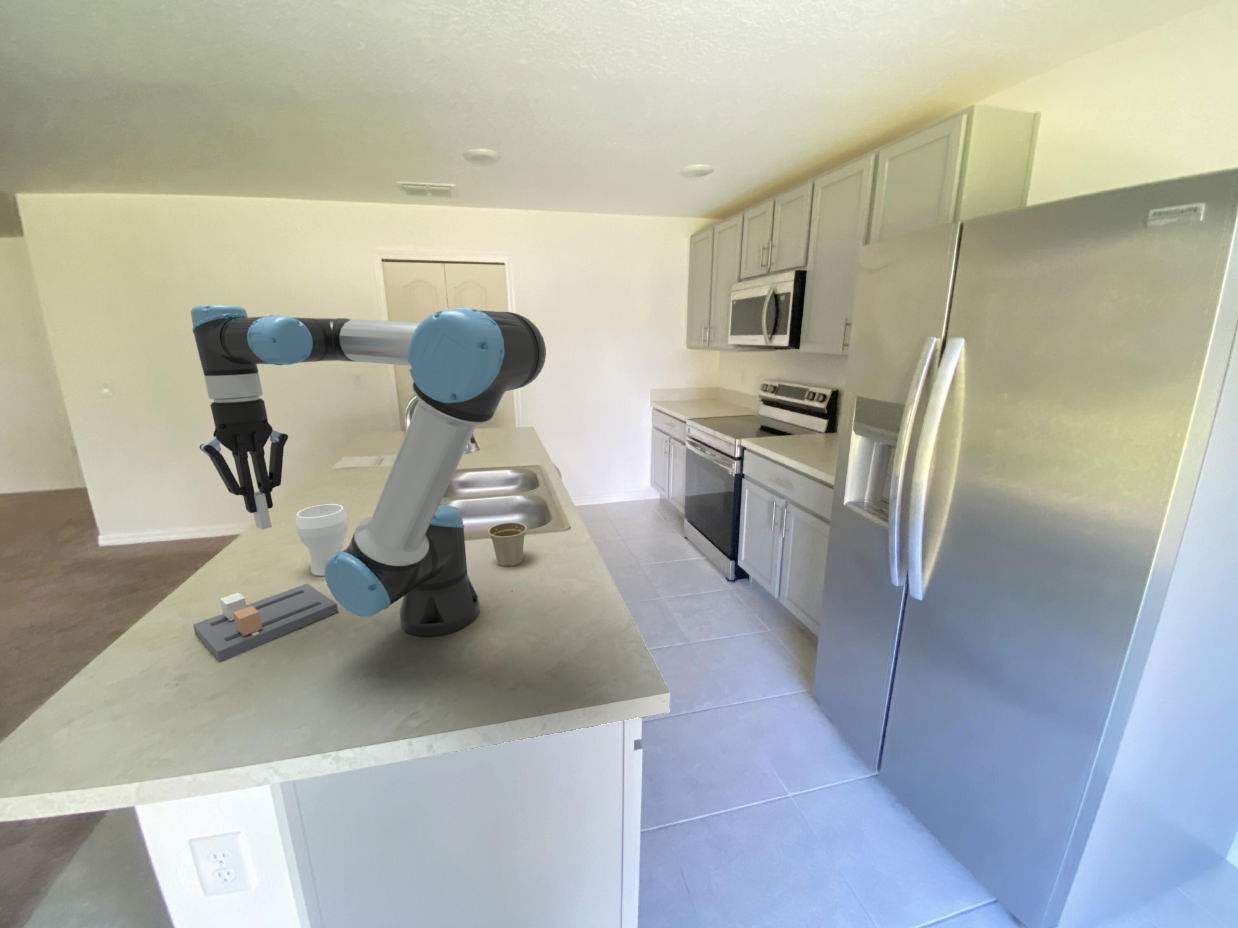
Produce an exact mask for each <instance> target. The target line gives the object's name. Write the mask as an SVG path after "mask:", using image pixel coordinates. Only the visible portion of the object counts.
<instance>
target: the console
mask: <svg viewBox="0 0 1238 928" xmlns="http://www.w3.org/2000/svg"><path fill="white" fill-rule="evenodd" d="M246 606H247V607H250V606H253V607H254V608H255V609H256V610H258V611H259V613H260V618H261V623H262V628H263V629H261V630H258V631H256V632H253V633H251V634H248V635H245V636H243V635H242V634H241V633H240V632H239V631H238V630H237V629H236V624H235V620H231V621H229V620H228V619H227V618H226V617H225V616H224V615H223V613H221V614H218V615H216V616H212V617H211V618H208V619H205V620H202V621H199V622H196V623H194V624H192V626H193V631H194V634H195V635H196V636H197V638H199V640H200V641H201V642H202V644H203V645H204V646H205V647H206V648H207V649H208V650H209V652H211V654H212V655H213V657H215V658H216V659H217V661H218V662H219V663H221V662H222V661H225V660H227V659H229V658H232V657H235V656H237V655H239V654H242V653H244V652H246V651H248V650H251V649H253V648H256V647H259V646H261V645H263V644H265V643H268V642H270V641H273V640H275V639H277V638H280V637H283V636H284V635H287V634H290V633H292V632H295V631H297V630H298V629H301V628H303V627H306V626H308V625H311V624H313V623H315V622H318V621H320V620H323V619H326V618H328V617H331V616H333V615H334V614H337V613H339V609H338V602H336V601H334V600H332V599H331V598H329V597H328V596H326V594H324V593H322V592H321V591H319V590H318V589H316V588H314V586H311V585H310V584H309V583H305V584H302V585H300V586H296V587H294V588H290V589H289V590H286V591H283V592H280V593H277V594H274V595H271V596H269V597H265V598H263V599H260V600H258V601H255V602H252V603H249V604H246Z"/></svg>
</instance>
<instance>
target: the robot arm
mask: <svg viewBox="0 0 1238 928" xmlns="http://www.w3.org/2000/svg"><path fill="white" fill-rule="evenodd" d="M190 316H191V322H192V329H191V331H192V333H193V336H194V339H195V343H196V349H197V352H198V356H199V360H200V365H201V370H202V372H203V377H204V381H205V386H206V392H207V395H208V398H209V399H210V400H213V401H212V402H211V404H210V410H211V413H212V414H211V415H212V419H213V423H214V427H215V428H214V431H213V434H212V435H213V438H211V439H210V440H209V441H208V442H206V443H202V444H200V445H199V449H200V451H202V452H203V453H204V454H206V456H207V457H209V459H210V461H211V462H212V463H213V464H212V465H214V467H215V470H216V471H217V473H218V475H219V476H220V478H221V480H222V481H223V483H224V485H225V487H226V489H227V490H228V493H231V494H232V495H235V496H242V497H243V501H244V506H245V510H246V511H247V512H248V513H250V514H253V518H254V522H255V527H256V528H258V529H259V530H262V531H264V530H266V529H269V528H272V522H271V517H270V514H269V509H272V508H273V507H274V503H273V497H272V495H271V494H272V492H273V489H274V488H276V487H279V486H281V484H282V476H283V474H282V473H283V462H284V449H285V445H286V443H287V441H288V439H289V435H288V434H287V433H284V432H279V431H277V430H274V429H273V426H272V425H271V424H270V423H269V421H268V414H267V409H266V405H265V400H263V398H260V397H262V395H264V393H263V388H262V383H261V379H260V375H259V369H258V365H275V366H283V365H285V366H287V365H288V366H289V365H291V366H292V365H293V364H295V365H296V364H300V363H301V364H302V363H311V362H313V363H316V362H333V361H335V362H337V361H339V362H341V361H342V362H358V363H359V362H361V363H372V364H385V365H396V366H408V367H411V368H410V369H409V373H410V376H411V378H412V380H413V382H412V388H411V389H412V392H413V393H414V395H415V397H416V398H417V400H418V402H417V405H416V406H415V409H414V412H413V414H412V416H411V419H410V422H409V424H408V426H407V429H406V431H405V434H404V437H403V439H402V440H401V444H400V447H399V449H398V451H397V453H396V456H395V459H394V461H393V463H392V466H391V469H390V471H389V473H388V475H387V479H386V482H385V483H384V486H383V489H382V491H381V493H380V496H379V498H378V501H377V503H376V505H375V508H374V511H373V513H372V515H371V516H369V517H366V518H365V519H363V520H361V521H360V522H359V523H358V524H357V526H356V527H355V530H354V532H353V535H352V538H351V540H350V543H349V545H348V546H347V547H346V548H345V549H343V551H339V552H337V553H336V554H334V555H333V556H332V557H331V558H329V559H328V561H327V563H326V565H325V575H324V578H325V582H326V585H327V587H328V589H329V591H330V593H331V595H332V597H334V599H335V600H336V603H337V604H338V603H339V605H340V606H341V607H342V608H344V609H345V610H346V611H348V612H349V613H351V614H353V615H355V616H359V617H372V616H375V615H377V614H379V613H380V612H382V611H385V610H387V609H389V608H390V606H391V605H393V604H394V603H396V602H397V601H399V600H400V599H402V601H401V605H400V608H399V621H400V622H399V623H400V626H401V629H402V630H404V631H405V632H406V633H407V634H410V635H413V636H419V637H436V636H442V635H446V634H451V633H453V632H456V631H458V630H461V629H463V628H464V627H466V626H468V625H469V624H471V623H472V622H473V621H474V620H476V618H477V616H478V615H479V613H480V601H479V596H478V595H477V592H476V590H475V588H474V586H473V584H472V582H471V580H470V578H469V575H468V567H467V566H468V565H467V554H466V542H465V540H466V539H465V524H464V521H463V514H462V512H461V511H460V510H459V508H457V507H455V506H454V505H449V504H441V502H442V500H443V498H444V495H445V493H446V492H447V489H448V487H449V485H450V483H451V482H452V479H453V477H454V475H455V472H456V471H457V468H458V466H459V463H460V462H461V459H462V457H463V455H464V453H465V451H466V448H467V447H468V444H469V442H470V440H471V438H472V437H473V434H474V432H475V430H476V427H477V426H478V425H483V424H487V423H488V422H490V421H491V420H492V419H493V417H494V415H495V412H496V411H497V408H498V407H499V404H500V402H501V400H502V398H503V396H504V394H505V393H506V392H508V391H514V390H517V389H521V388H524V387H525V386H528V385H529V384H531V383H532V382H533V381H535V380H536V379H537V378H538V376H539V374H541V372H542V370H543V368H544V365H545V363H546V356H547V347H546V343H545V339H544V337H543V335H542V332H541V331H540V329H539V328H538V327H537V326H536V324H535V323H534V322H533V321H531V320H530V319H529V318H527V317H525V316H523V315H521V314H519V313H516V312H511V311H494V310H479V309H476V308H471V307H456V308H453V309H452V308H450V309H443V310H439V311H436V312H433V313H431V314H430V315H428V316H426V317H425V318H424V319H423V320H422V321H405V320H404V321H403V320H402V321H400V320H398V321H397V320H381V319H380V320H376V319H374V320H373V319H351V318H345V317H344V318H341V317H340V318H328V317H327V318H325V317H324V318H323V317H322V318H321V317H319V318H317V317H315V318H314V317H294V316H287V315H286V316H285V315H273V314H269V315H265V316H252V317H251V316H250V317H249V316H248V313H247V311H246V309H245V308H244V307H242V306H240V305H239V306H238V305H226V304H225V305H224V304H223V305H220V304H217V305H215V304H214V305H213V304H211V305H205V304H204V305H203V304H202V305H196V306H193V307H192V308H191V310H190ZM268 440H270V442H271V443H270V448H269V449H270V452H269V465H268V468H267V463H266V458H265V454H266V453H265V448H264V447H265V446H266V444H267V442H268ZM220 444H221V445H223V446H224V447H225V448H226V449H227V450H229V451H230V452H231V455H232V458H233V460H234V463H235V469H236V474H237V478H238V481H237V479H236V477H235V475H234V474H233V472H232V469H231V468H230V466H229V465H228V463H227V461H226V459H225V457H224V456H223V454H222V453H221V451H222V447H221V446H220ZM248 454H249V455H250V457H251V462H252V466H253V467H252V468H253V472H254V476H255V482H256V485H257V490H259V491H255V487H254V483H253V479H252V473H251V467H250V465H249V455H248Z"/></svg>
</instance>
